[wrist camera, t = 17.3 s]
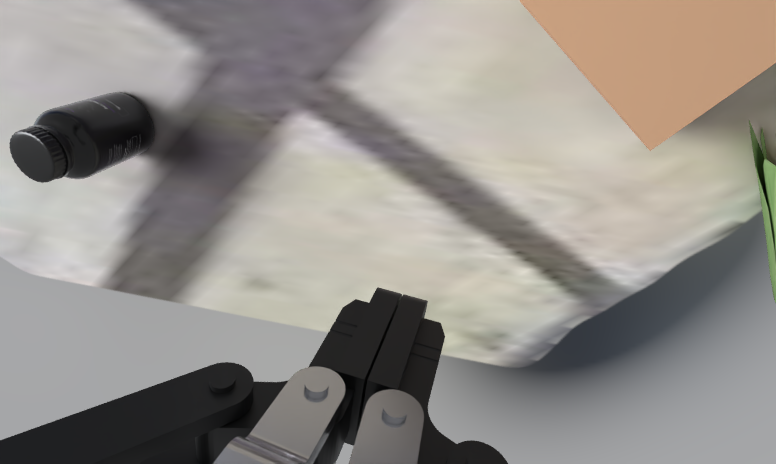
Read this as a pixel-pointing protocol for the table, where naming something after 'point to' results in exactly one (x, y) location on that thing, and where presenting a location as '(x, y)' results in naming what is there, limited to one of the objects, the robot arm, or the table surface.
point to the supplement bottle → (83, 138)
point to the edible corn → (767, 200)
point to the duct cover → (662, 53)
